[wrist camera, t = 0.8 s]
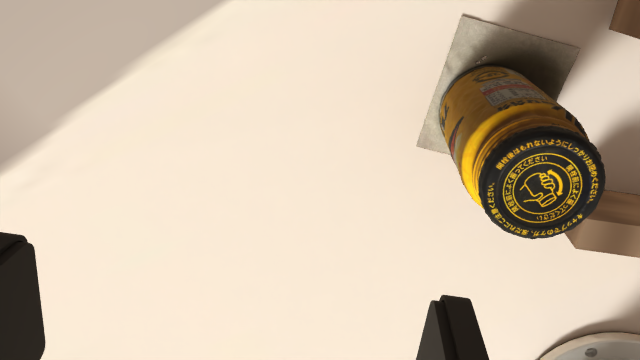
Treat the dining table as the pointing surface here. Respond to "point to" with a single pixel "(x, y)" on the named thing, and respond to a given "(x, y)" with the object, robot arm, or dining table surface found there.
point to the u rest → (613, 207)
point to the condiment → (514, 130)
